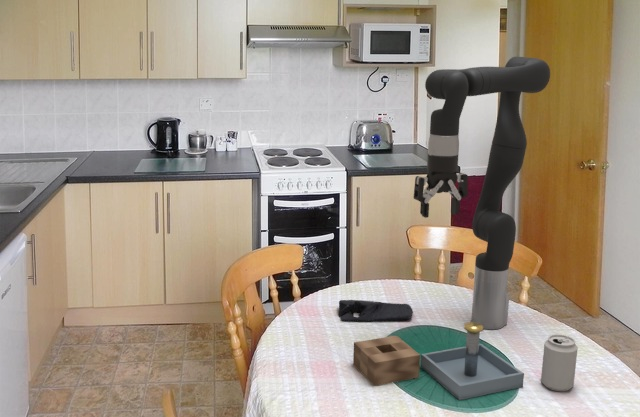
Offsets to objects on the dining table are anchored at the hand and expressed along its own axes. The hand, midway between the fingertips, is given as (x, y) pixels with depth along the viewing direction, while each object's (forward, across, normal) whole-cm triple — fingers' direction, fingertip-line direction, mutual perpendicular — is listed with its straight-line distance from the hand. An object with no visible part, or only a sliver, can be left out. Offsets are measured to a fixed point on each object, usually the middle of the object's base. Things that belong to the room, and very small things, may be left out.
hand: (439, 215), depth 184 cm
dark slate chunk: (+37, +4, -26) cm, 45 cm away
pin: (+35, 0, +18) cm, 40 cm away
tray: (+36, 0, +18) cm, 40 cm away
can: (+36, -17, +29) cm, 49 cm away
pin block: (+36, +18, +8) cm, 41 cm away
